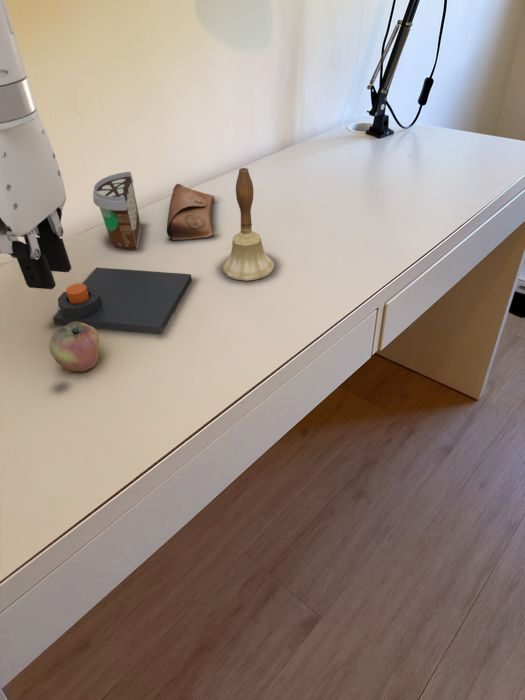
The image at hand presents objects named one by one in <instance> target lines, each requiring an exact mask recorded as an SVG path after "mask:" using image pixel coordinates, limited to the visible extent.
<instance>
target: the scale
mask: <svg viewBox="0 0 525 700" xmlns="http://www.w3.org/2000/svg"><path fill="white" fill-rule="evenodd" d="M192 281H193V280H192V274H191V273H180V272H166V271H153V270H152V271H151V270H139V269H122V268H109V267H108V268H107V267H95V268H94V269H93V271H91V272H90V274H89V275H88V276H87V277H86V278H85V280H84V281H83V282H81V284H84V285H86V288H87V291H88V294H89V299H88V300H86V301H84V302H82V303H77V304H73V303H70V302H69V299H68V296H67V293H66V290H65V291H63V292H62V293H61V294H60V295H59V297H58V298H57V305H58V308H59V310H58V311H57V312H56V313H55V314H54V315H53V316H52V320H53V322H54V324H55V325H57V326H58V325H59V326H66V325H68V324H69V323H71V322H82V323H85V324H87V325H89V326H92V327H93V328H94V329H100V330H110V331H111V330H112V331H122V332H131V333H143V334H153V335H154V334H155V335H162V334H163V332H164V330H165V328H166V326H167V325H168V323H169V322H170V319H172V316H173V314H174V313H175V311H176V309H177V307H178V305H180V302H181V301H182V298H183V297H184V295H185V294H186V291H187V290H188V288H189V286H190V285H191V283H192Z"/></svg>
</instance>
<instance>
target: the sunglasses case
mask: <svg viewBox="0 0 525 700" xmlns="http://www.w3.org/2000/svg"><path fill="white" fill-rule="evenodd" d="M214 199H215V196H214V195H213V194H209V193H205V192H201V191H199V190H196V189H192V188H188V187H186V186H184V185H183V184H180V183H177V184H175V186H174V187H173V189H172V193H171V197H170V202H169V209H168V216H167V221H166V222H167V223H166V225H167V226H166V233H167V234H166V235H167V236H168V237H169V238H170V239H171V240H173V241H194V240H200V239H207V238H210V237H213V236H214V230H213V229H214V228H213V222H212V217H213V216H212V215H213V214H212V213H213V203H214Z"/></svg>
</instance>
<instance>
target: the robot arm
mask: <svg viewBox="0 0 525 700" xmlns="http://www.w3.org/2000/svg"><path fill="white" fill-rule="evenodd" d="M24 65H25V64H24V61H23V58H22V55H21V52H20V48H19V45H18V41H17V38H16V34H15V31H14V27H13V24H12V20H11V17H10V14H9V10H8V7H7V3H6V0H0V254H1V255H2V254H3V255H4V254H6V255H10V257H11V258H12V259H16V260H17V263H18V265H19V268H20V271H21V273H22V276H23V278H24V281H25V283H26V286H27V287H28V288H31V289H41V290H42V289H43V290H53V289H54V288H55V287H56V281H55V278H54V275H53V272H57V273H58V272H59V273H69V272H70V271H71V270H72V264H71V261H70V258H69V256H68V253H67V249H66V246H65V242H64V238H62V237H64V233H65V231H64V228H63V225H62V216H63V209H64V206H65V203H66V201H67V196H66V190H65V189H66V188H65V184H64V180H63V176H62V173H61V169H60V166H59V164H58V160H57V157H56V154H55V151H54V148H53V146H52V144H51V143H52V142H51V141H50V138H49V135H48V133H47V130H46V128H45V126H44V123H43V121H42V119H41V116H40V115H39V112H38V109H37V105H36V102H35V98H34V95H33V92H32V89H31V85H30V81H29V78H28V76H27V72H26V68H25V66H24ZM18 237H19V238H20V237H21V238H23V239H24V242H25V243H24V242H22V241H21V240H19V238H18Z"/></svg>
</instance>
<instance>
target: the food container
mask: <svg viewBox="0 0 525 700" xmlns="http://www.w3.org/2000/svg"><path fill="white" fill-rule="evenodd" d="M92 201H93V204H94V205H95V206H96V207H98V208H99V211H100V213H101V216H102V220H103V222H104V225H105V229H106V231H107V234H108V237H109V240H110V243H111V245H112V246H113V247H114V248H116V249H119V250H124V251H137V250H138V246H139V240H140V234H141V229H142V225H141V219H140V214H139V209H138V204H137V198H136V194H135V186H134V180H133V175H132V171H124V172H119V173H115V174H111V175H107V176H106V177H104V178H101V179H100V180H98V181H97V182H96V183H95V184H94V186H93V190H92Z"/></svg>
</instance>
